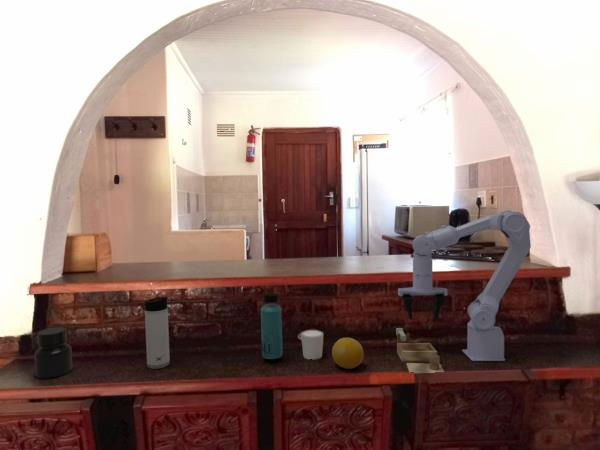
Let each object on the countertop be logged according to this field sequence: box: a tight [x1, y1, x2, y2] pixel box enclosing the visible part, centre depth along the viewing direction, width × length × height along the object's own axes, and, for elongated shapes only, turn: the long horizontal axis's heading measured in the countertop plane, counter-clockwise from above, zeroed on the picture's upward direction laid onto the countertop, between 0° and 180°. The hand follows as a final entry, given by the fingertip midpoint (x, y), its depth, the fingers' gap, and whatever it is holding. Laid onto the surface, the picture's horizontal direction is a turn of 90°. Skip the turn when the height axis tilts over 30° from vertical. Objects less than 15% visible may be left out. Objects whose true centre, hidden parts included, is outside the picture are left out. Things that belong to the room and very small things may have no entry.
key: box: [395, 327, 406, 342], centre depth 125 cm, size 2×6×2 cm, turn 178°
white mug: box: [300, 329, 325, 361], centre depth 121 cm, size 7×7×7 cm
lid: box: [405, 354, 445, 374], centre depth 110 cm, size 9×6×4 cm
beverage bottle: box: [260, 292, 284, 360], centre depth 118 cm, size 6×7×20 cm
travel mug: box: [144, 296, 171, 370], centre depth 116 cm, size 6×7×20 cm
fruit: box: [331, 337, 365, 370], centre depth 112 cm, size 9×8×8 cm
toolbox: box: [396, 332, 438, 363], centre depth 119 cm, size 10×8×6 cm
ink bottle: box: [34, 326, 73, 379], centre depth 112 cm, size 10×9×12 cm
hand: (422, 318), depth 122 cm, fingers open, 7 cm apart
